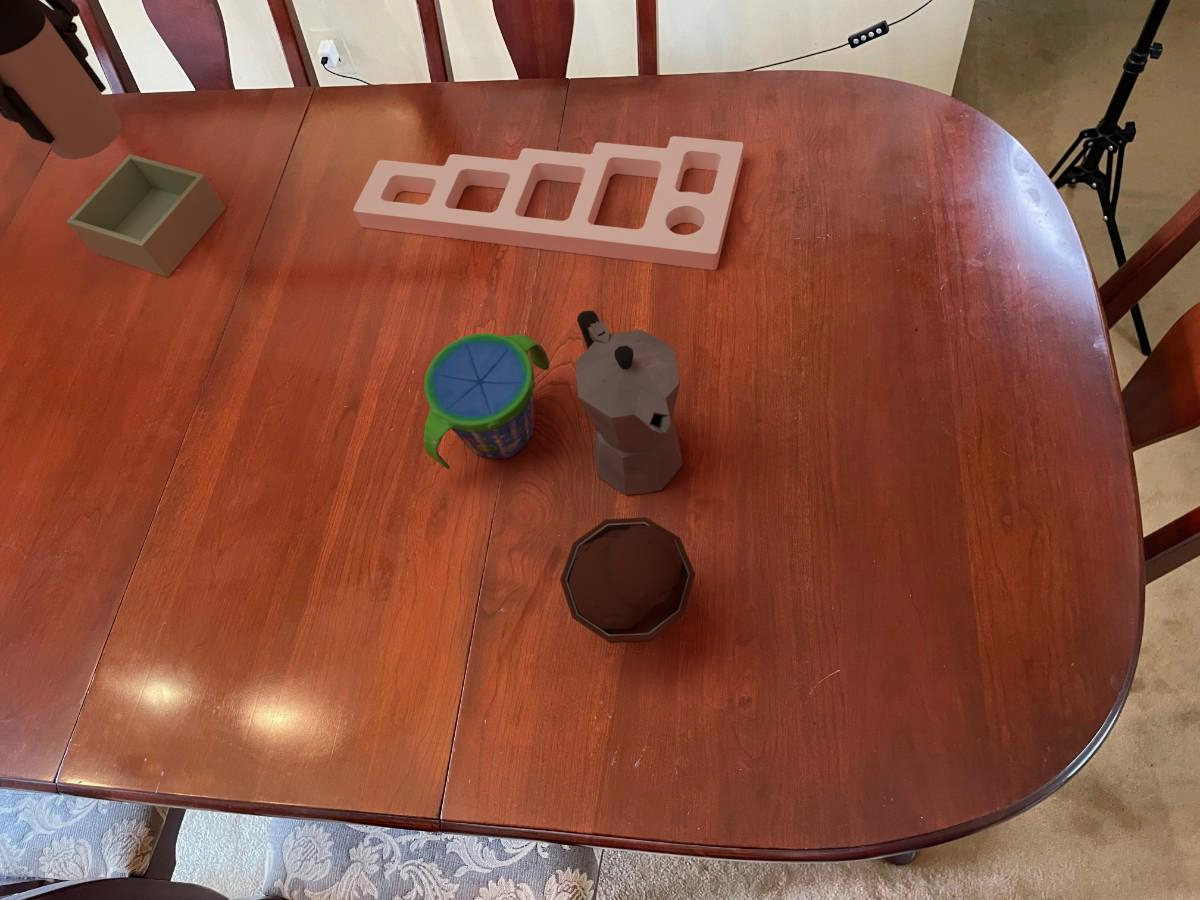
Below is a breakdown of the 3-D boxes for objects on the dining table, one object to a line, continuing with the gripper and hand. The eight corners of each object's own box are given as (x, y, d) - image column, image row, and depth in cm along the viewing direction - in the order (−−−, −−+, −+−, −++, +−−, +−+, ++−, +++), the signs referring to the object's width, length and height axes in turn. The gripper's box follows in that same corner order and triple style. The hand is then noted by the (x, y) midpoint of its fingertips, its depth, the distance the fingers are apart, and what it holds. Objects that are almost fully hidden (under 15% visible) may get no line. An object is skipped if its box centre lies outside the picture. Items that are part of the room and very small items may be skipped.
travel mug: (136, 117, 97) (28, -37, 82) (97, 166, 94) (-24, 14, 78) (80, 109, 99) (-36, -43, 84) (40, 156, 96) (-89, 7, 80)
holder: (359, 226, 106) (352, 211, 104) (409, 128, 114) (403, 111, 112) (716, 270, 97) (716, 254, 94) (743, 159, 105) (744, 142, 102)
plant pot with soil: (667, 542, 81) (661, 468, 68) (712, 650, 75) (713, 592, 62) (562, 579, 80) (535, 512, 67) (599, 691, 75) (577, 641, 62)
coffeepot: (712, 484, 83) (714, 382, 68) (629, 529, 82) (611, 436, 66) (636, 375, 91) (622, 260, 75) (558, 414, 89) (527, 305, 74)
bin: (94, 253, 109) (65, 221, 104) (154, 187, 114) (129, 153, 109) (168, 277, 105) (141, 245, 100) (226, 208, 110) (204, 174, 106)
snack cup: (474, 511, 85) (447, 462, 76) (412, 448, 89) (380, 395, 80) (587, 414, 89) (575, 357, 80) (523, 358, 93) (504, 299, 85)
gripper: (-164, -28, 69) (30, 185, 88) (13, -161, 77) (154, 60, 97) (-222, -41, 71) (-20, 169, 91) (-44, -169, 79) (105, 49, 99)
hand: (69, 113), depth 94 cm, fingers closed on travel mug, 8 cm apart
